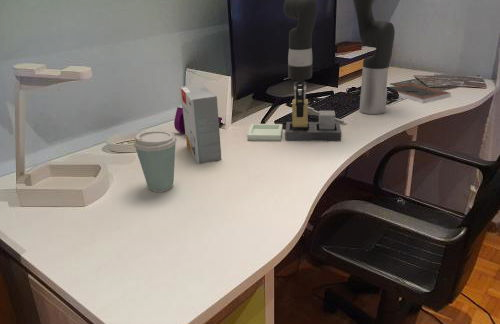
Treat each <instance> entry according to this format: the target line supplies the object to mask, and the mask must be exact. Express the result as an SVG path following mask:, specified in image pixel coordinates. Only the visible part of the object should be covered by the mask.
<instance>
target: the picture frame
mask: <svg viewBox="0 0 500 324" xmlns="http://www.w3.org/2000/svg"><path fill="white" fill-rule="evenodd" d="M388 87H389V88H393V89H395V90H396V91H397V92H398V94H399V96H398V97H400V96H401V97H400V98H403V97H404V99H406V100H410V101H413V102H417V103H419V104H426V103H429V102H433V101H438V100H442V99H446V98H451V96H452V92H450V91H449V92H448V91H445V90H441V89H437V88H432V87H428V86H424V85H420V84H417V83H413V82H409V83H408V82H407V83H404V84H398V85H393V86H388Z"/></svg>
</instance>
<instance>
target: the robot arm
mask: <svg viewBox="0 0 500 324" xmlns="http://www.w3.org/2000/svg"><path fill="white" fill-rule="evenodd" d="M352 1H353V5H354V10H355V14H356V19H357V28H358V34H359V39H360V42H361V43H362V44H363V46H364V47H368V48H372V49H373V48H375V51H374V54H373V55H372V56H371V55H370V56H367V57H365V58H364V59H363V60H362V61H363V62H362V72H361V73H362V74H361V86H360V99H359V112H361V113H362V114H366V115H367V114H368V115H379V114H385V113H386V107H387V98H388V93H387V90H388V89H387V87H388V76H389V75H388V74H389V66H390V61H391V59H392V58H391V57H392V54H393V53H392V52H393V48H394V47H393V46H394V42H395V34H396V33H395V26H394V24H393V22H390V21H385V20H384V21H382V20H375V18H374V13H373V4H374V1H375V0H352ZM318 8H319V7H318V2H317V0H284V3H283V12H284V15H285V16H286V17H287V18H289V19H291V20H297V24H296V27H293V28H290V30H289V33H288V53H287V54H288V56H287V60H288V61H287V63H288V64H287V67H288V72H287V73H288V74H287V75H288V78H289V79H290V80H293V81H294V80H295V81H296V82H293V91H294V99H296V106H297V117H303V106H304V99H306V90H307V81H305V80H310V79H312V77H313V50H312V49H313V48H312V41H313V38H312V37H313V35H312V34H313V32H314V28H315V24H316V21H317V16H318V10H319V9H318ZM298 100H302V102H298Z"/></svg>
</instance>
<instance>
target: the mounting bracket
mask: <svg viewBox="0 0 500 324" xmlns="http://www.w3.org/2000/svg"><path fill="white" fill-rule="evenodd" d="M176 107H177V108H176V111H175V115H174V121H173V125H174V128H175V130H176V131H177V132H178V133H180V134H185V125H184V116H183V107H178V106H176ZM222 118H223V117H220V116H218V119H219V124H220V123H221V120H222ZM185 135H186V134H185Z"/></svg>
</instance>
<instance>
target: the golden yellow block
mask: <svg viewBox="0 0 500 324" xmlns="http://www.w3.org/2000/svg"><path fill="white" fill-rule="evenodd" d="M298 102H302V100H298ZM291 107H292V108H291V111H292V112H291V117H292V118H291V119H292V120H291V122H292V127H308V122H309V121H308V120H309V119H308V118H309V117H308V116H309V115H308V107H309V99H308V98H305V99H304V106H303V117H297V106H296V99H295V98H293V99H292V101H291Z"/></svg>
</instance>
